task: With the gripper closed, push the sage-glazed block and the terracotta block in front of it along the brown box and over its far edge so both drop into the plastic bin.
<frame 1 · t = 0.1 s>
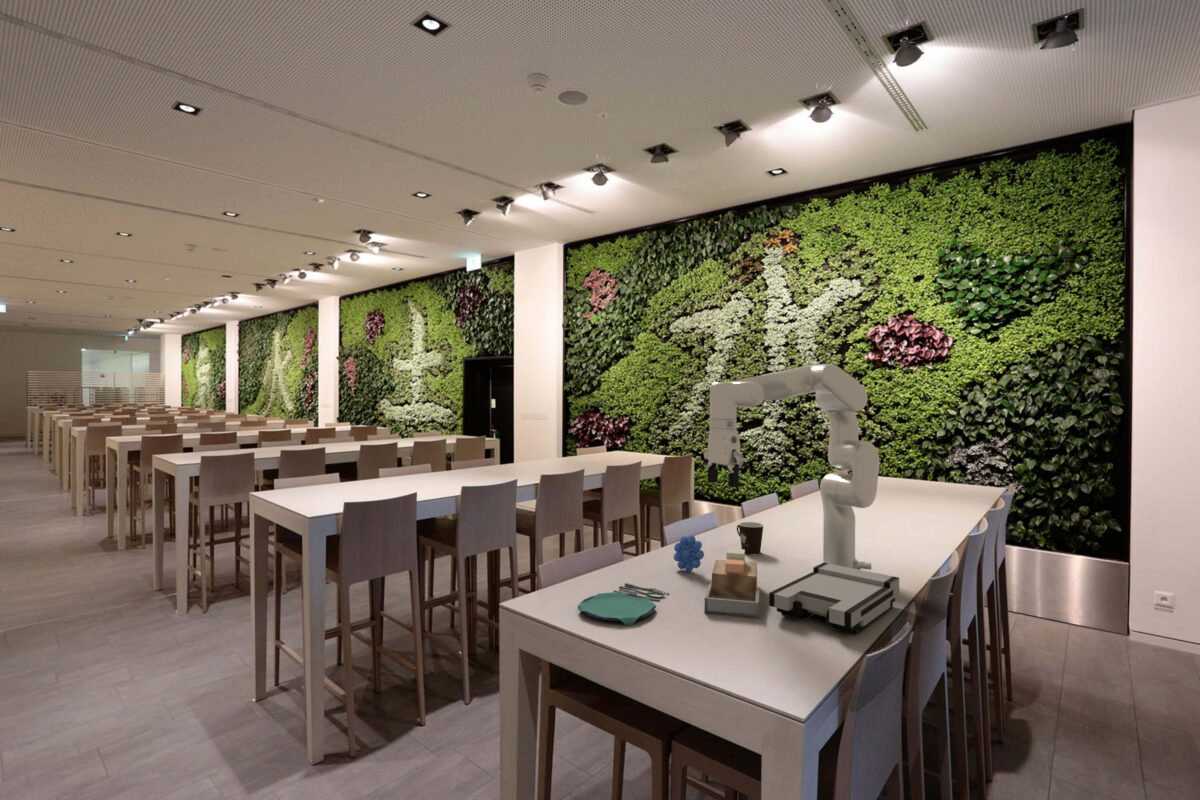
hand: (722, 484, 175), 31 cm above the table, tool pointing down, fingers open, 9 cm apart
cutlery set: (626, 607, 164), on the table
game console: (835, 614, 158), on the table
sage block: (735, 564, 178), point 7 cm above the table, touching brown box
brown box: (735, 591, 175), on the table
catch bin: (732, 607, 162), on the table
grapes: (690, 571, 195), on the table
terracotta block: (734, 570, 172), point 7 cm above the table, touching brown box
coffee mug: (750, 551, 219), on the table
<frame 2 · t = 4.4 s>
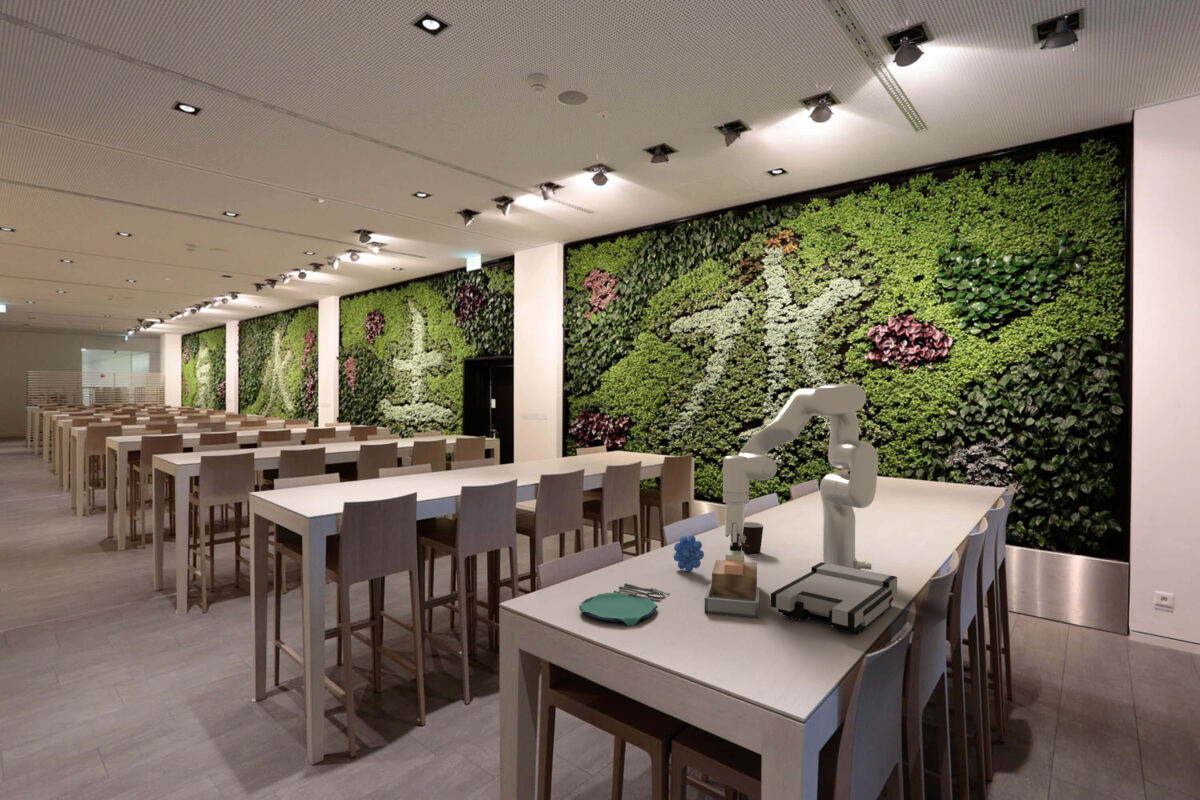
hand: (735, 558, 180), 8 cm above the table, tool pointing down, fingers closed
sage block: (734, 566, 176), point 7 cm above the table, touching gripper, terracotta block
terracotta block: (734, 571, 171), point 7 cm above the table, touching brown box, sage block
everything else where it was.
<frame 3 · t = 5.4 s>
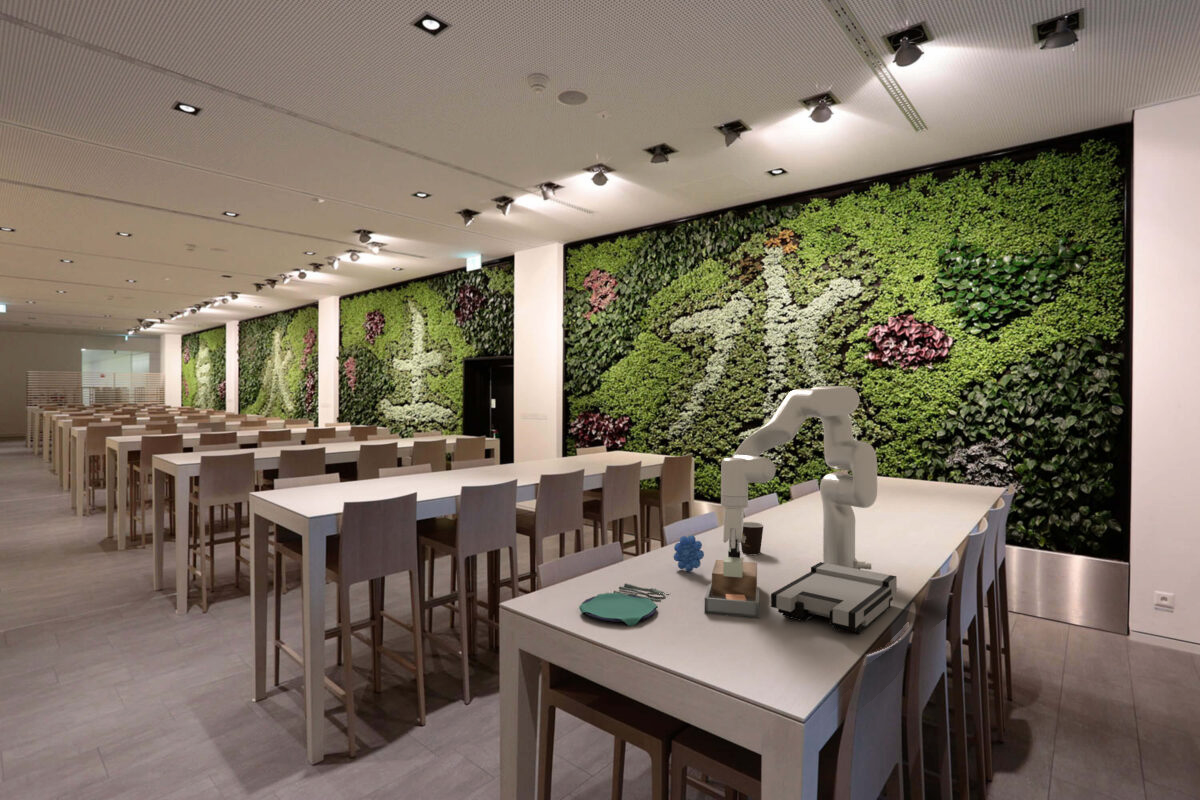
hand: (734, 565, 173), 8 cm above the table, tool pointing down, fingers closed
sage block: (733, 574, 169), point 7 cm above the table, touching brown box, gripper
terracotta block: (735, 597, 161), point 3 cm above the table, tilted 180°, touching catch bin
everything else where it was.
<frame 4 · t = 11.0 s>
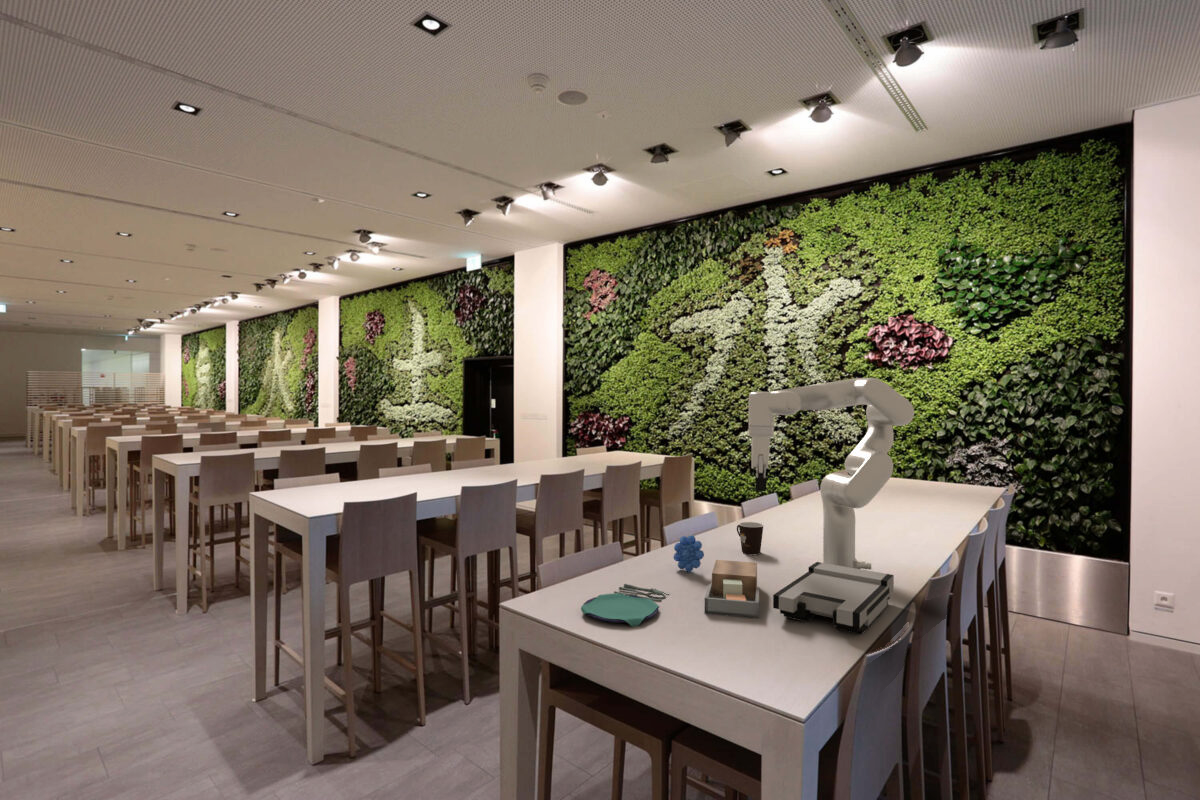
hand: (760, 490, 188), 27 cm above the table, tool pointing down, fingers closed
sage block: (732, 588, 168), point 3 cm above the table, tilted 90°, touching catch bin
at the end: terracotta block inside the target area (1.8 cm from its centre), point 3.3 cm above the table; sage block inside the target area (5.6 cm from its centre), point 3.3 cm above the table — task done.
